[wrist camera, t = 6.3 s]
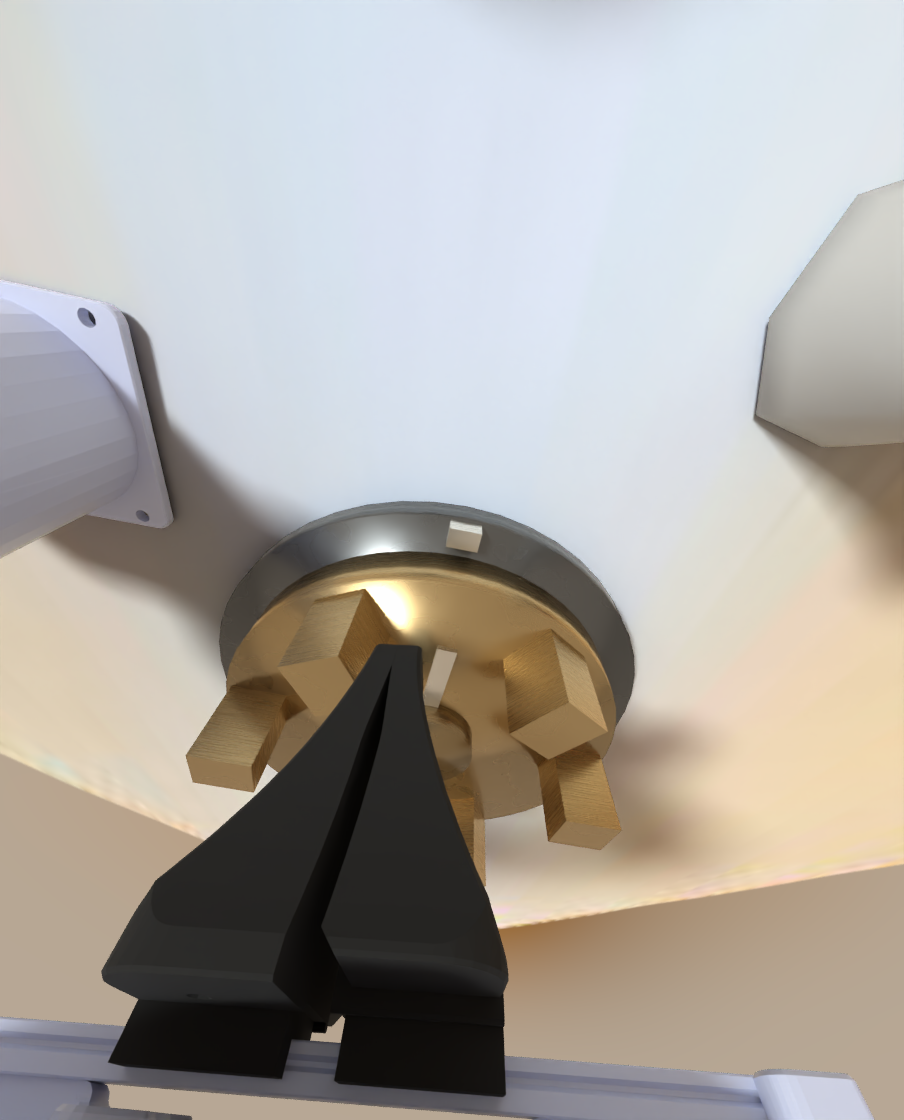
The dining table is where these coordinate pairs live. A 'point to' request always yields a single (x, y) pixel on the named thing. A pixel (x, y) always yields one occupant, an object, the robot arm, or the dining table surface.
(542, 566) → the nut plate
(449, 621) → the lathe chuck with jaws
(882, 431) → the flask
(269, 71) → the dining table surface
